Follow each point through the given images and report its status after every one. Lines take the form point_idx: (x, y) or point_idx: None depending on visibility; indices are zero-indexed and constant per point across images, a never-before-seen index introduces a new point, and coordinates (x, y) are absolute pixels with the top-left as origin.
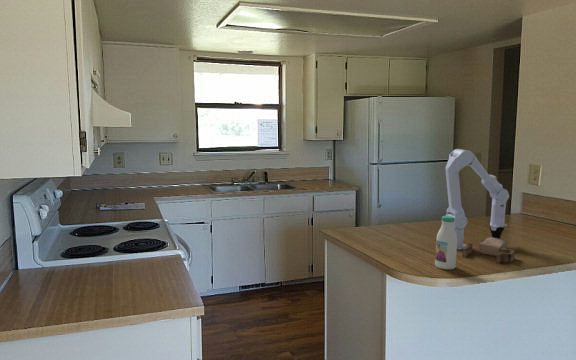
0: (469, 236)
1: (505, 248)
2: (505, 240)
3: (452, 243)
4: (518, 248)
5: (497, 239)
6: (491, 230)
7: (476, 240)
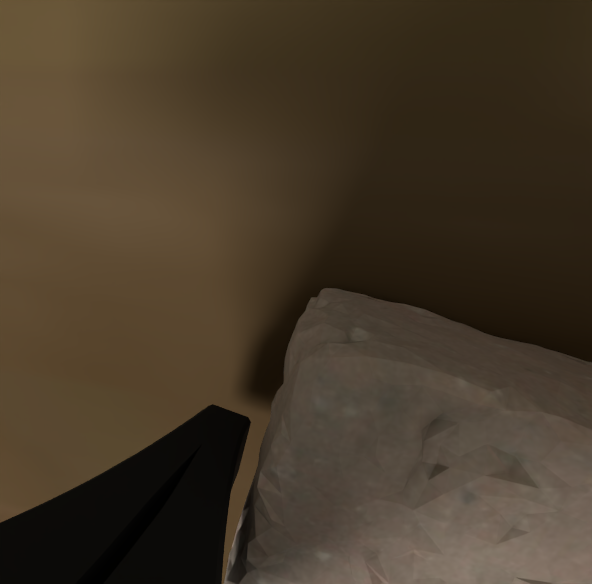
0: None
1: (460, 325)
2: (400, 399)
3: None
4: (227, 86)
5: (379, 566)
6: None
7: None
